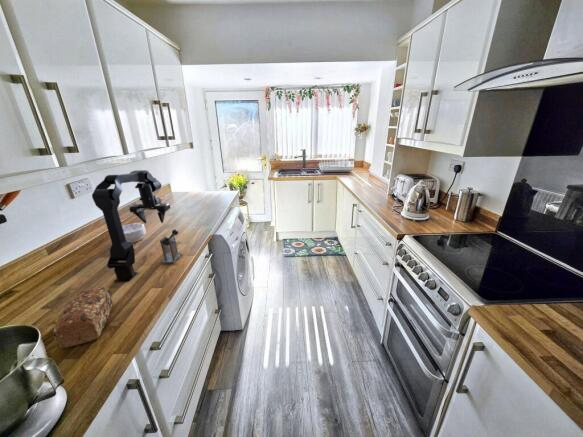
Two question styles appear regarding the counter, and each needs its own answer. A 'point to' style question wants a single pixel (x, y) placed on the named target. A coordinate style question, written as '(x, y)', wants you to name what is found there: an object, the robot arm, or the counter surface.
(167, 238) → the ball knob lever
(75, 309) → the bread
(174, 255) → the bracket
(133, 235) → the paper bowls
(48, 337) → the counter surface
